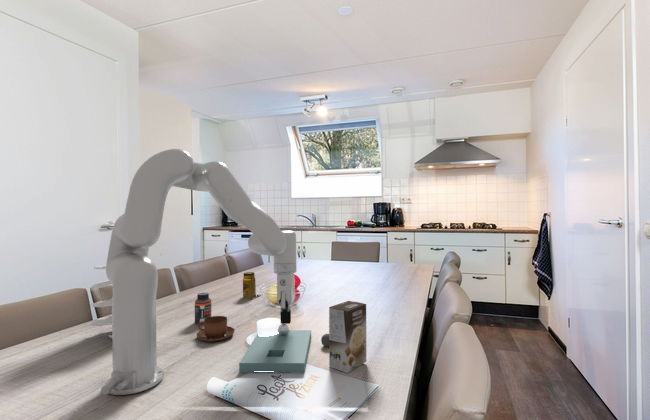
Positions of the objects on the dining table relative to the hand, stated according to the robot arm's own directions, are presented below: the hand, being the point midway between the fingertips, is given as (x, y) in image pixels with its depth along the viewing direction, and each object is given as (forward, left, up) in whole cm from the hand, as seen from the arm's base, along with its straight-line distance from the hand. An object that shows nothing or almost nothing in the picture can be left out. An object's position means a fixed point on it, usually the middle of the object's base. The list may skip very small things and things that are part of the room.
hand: (285, 322), depth 113 cm
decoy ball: (-8, -14, -3) cm, 16 cm away
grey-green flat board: (-13, 0, -5) cm, 14 cm away
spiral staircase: (+1, +56, -5) cm, 56 cm away
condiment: (+52, +25, -5) cm, 58 cm away
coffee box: (-20, -20, -5) cm, 29 cm away
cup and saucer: (0, +23, -5) cm, 24 cm away
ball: (-5, 0, 0) cm, 5 cm away
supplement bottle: (+13, +33, -5) cm, 36 cm away
